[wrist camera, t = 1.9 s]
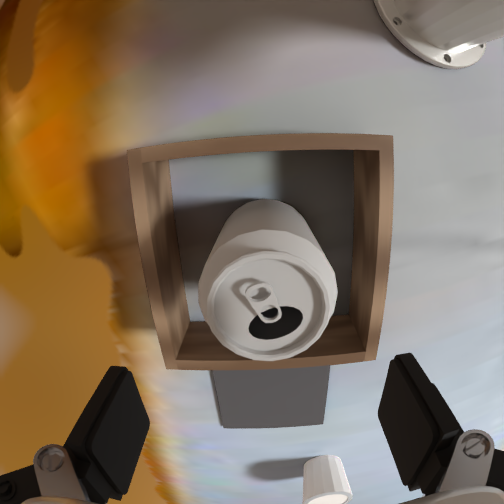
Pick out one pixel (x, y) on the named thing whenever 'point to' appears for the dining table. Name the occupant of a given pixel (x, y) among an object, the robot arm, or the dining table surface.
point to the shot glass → (325, 481)
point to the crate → (169, 266)
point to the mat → (272, 397)
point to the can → (267, 283)
